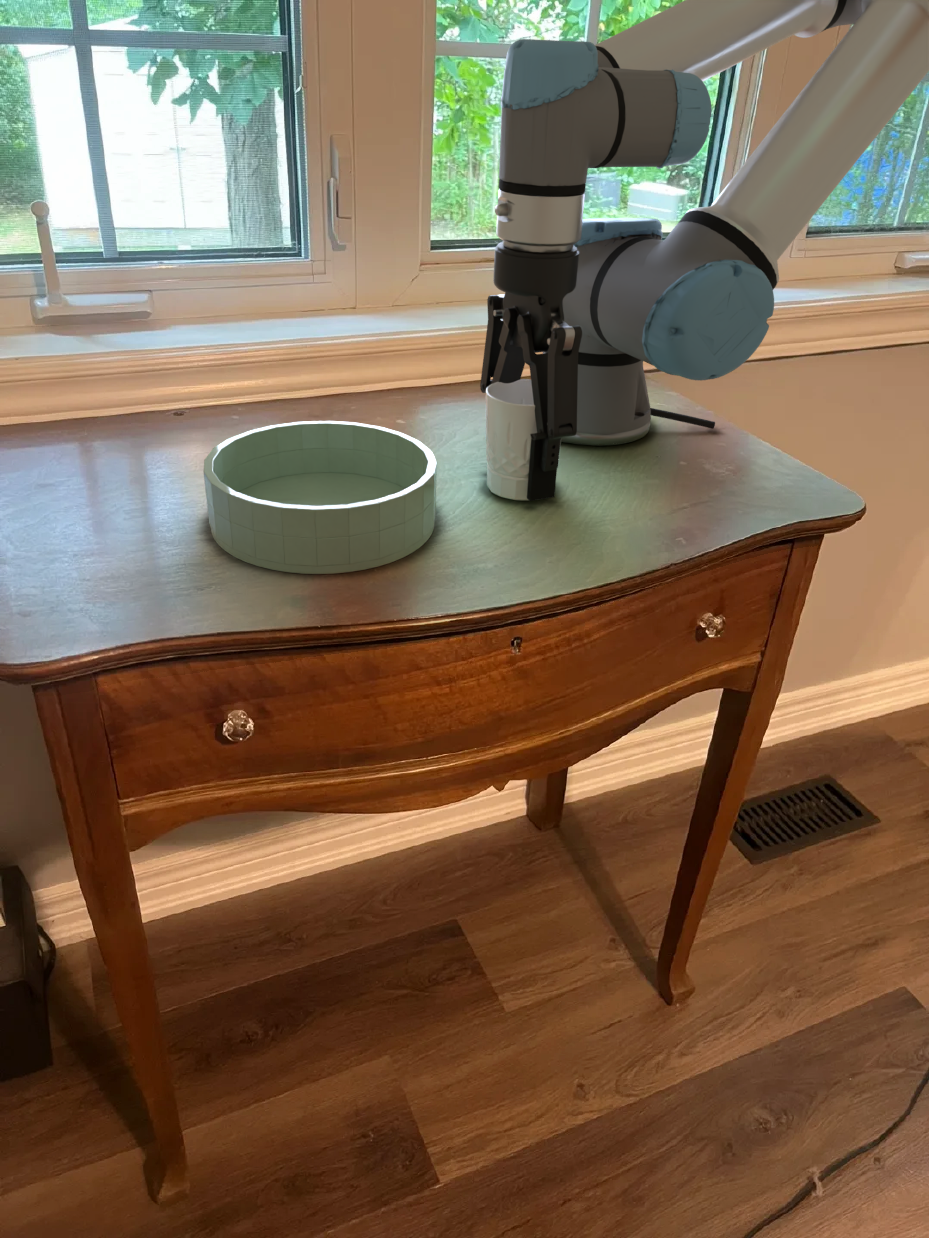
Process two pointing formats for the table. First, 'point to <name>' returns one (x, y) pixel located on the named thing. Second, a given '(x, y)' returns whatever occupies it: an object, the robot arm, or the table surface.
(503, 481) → the white cup
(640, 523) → the table surface
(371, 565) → the bowl
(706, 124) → the robot arm
